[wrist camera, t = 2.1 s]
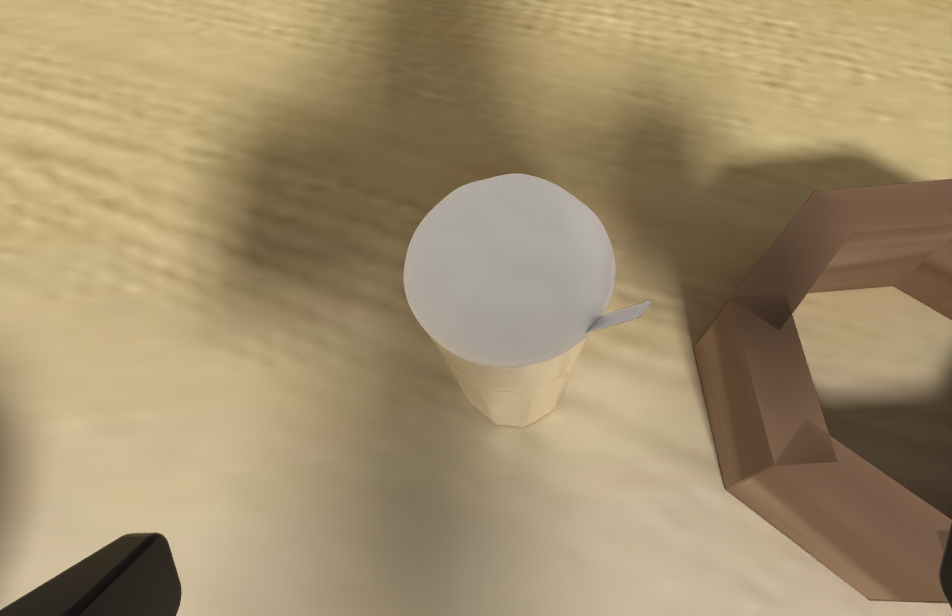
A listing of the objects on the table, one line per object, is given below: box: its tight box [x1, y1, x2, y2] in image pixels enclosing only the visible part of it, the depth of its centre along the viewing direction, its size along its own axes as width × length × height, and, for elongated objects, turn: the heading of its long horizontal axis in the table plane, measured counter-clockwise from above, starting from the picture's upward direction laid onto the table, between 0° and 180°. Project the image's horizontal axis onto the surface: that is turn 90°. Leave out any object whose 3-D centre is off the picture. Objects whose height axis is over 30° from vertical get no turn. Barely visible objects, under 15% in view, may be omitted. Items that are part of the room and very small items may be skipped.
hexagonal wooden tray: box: [694, 179, 952, 603], centre depth 17 cm, size 11×11×4 cm
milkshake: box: [404, 173, 651, 427], centre depth 16 cm, size 5×5×10 cm
